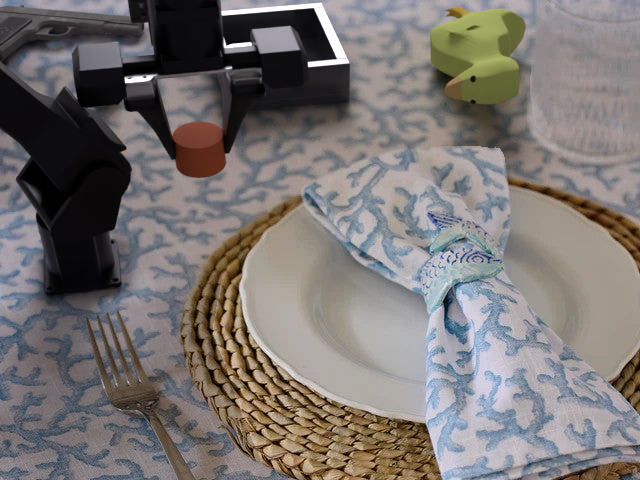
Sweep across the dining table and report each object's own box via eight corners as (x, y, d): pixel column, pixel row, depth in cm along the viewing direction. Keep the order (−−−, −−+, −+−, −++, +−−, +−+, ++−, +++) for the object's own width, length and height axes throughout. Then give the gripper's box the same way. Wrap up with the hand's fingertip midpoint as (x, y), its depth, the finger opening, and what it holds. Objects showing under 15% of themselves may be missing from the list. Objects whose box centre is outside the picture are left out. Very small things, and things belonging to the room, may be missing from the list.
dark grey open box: (349, 100, 112) (350, 63, 109) (227, 113, 109) (224, 75, 106) (321, 38, 122) (321, 2, 119) (209, 48, 120) (206, 12, 117)
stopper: (229, 174, 89) (226, 145, 87) (178, 180, 88) (175, 151, 86) (222, 148, 92) (219, 118, 90) (173, 153, 91) (169, 124, 89)
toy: (373, 15, 117) (456, 71, 102) (498, -14, 121) (595, 36, 107) (376, 67, 120) (457, 129, 106) (498, 37, 125) (591, 92, 110)
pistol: (116, 58, 114) (146, 12, 122) (-41, 44, 115) (-1, -1, 124) (118, 74, 115) (148, 27, 124) (-37, 60, 116) (3, 14, 125)
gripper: (282, -69, 86) (288, 97, 96) (55, -52, 82) (88, 118, 93) (308, -12, 78) (311, 161, 89) (59, 9, 75) (94, 186, 85)
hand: (200, 154), depth 89 cm, fingers closed on stopper, 4 cm apart
